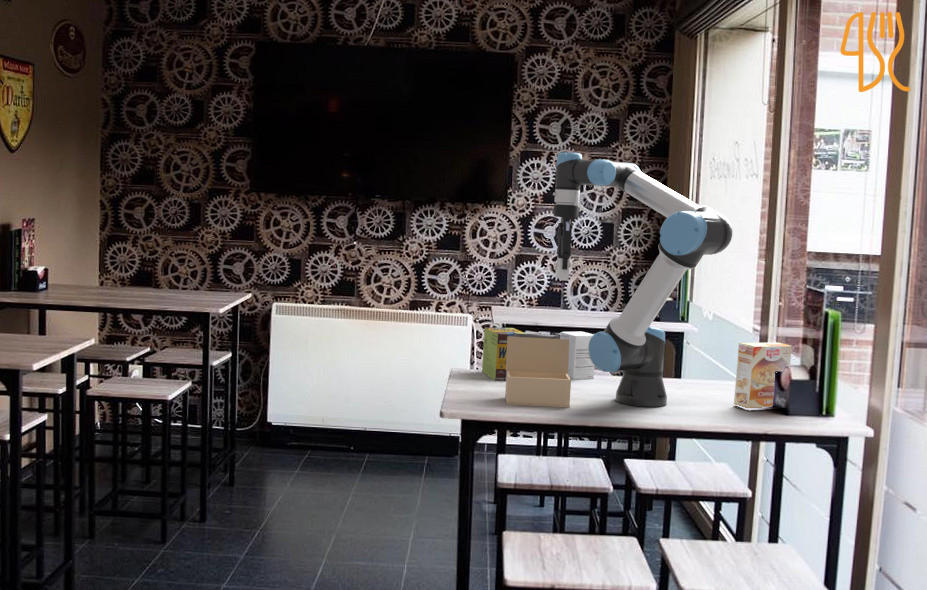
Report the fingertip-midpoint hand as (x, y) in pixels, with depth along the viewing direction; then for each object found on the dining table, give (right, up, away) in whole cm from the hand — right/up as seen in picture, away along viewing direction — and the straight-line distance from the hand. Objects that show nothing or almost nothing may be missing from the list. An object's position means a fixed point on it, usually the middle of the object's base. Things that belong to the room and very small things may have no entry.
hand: (562, 279), depth 299 cm
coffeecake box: (+59, -39, -4) cm, 71 cm away
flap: (-8, -22, -8) cm, 25 cm away
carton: (-9, -36, -13) cm, 39 cm away
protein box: (-17, -32, +27) cm, 45 cm away
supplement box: (+8, -33, +33) cm, 48 cm away
